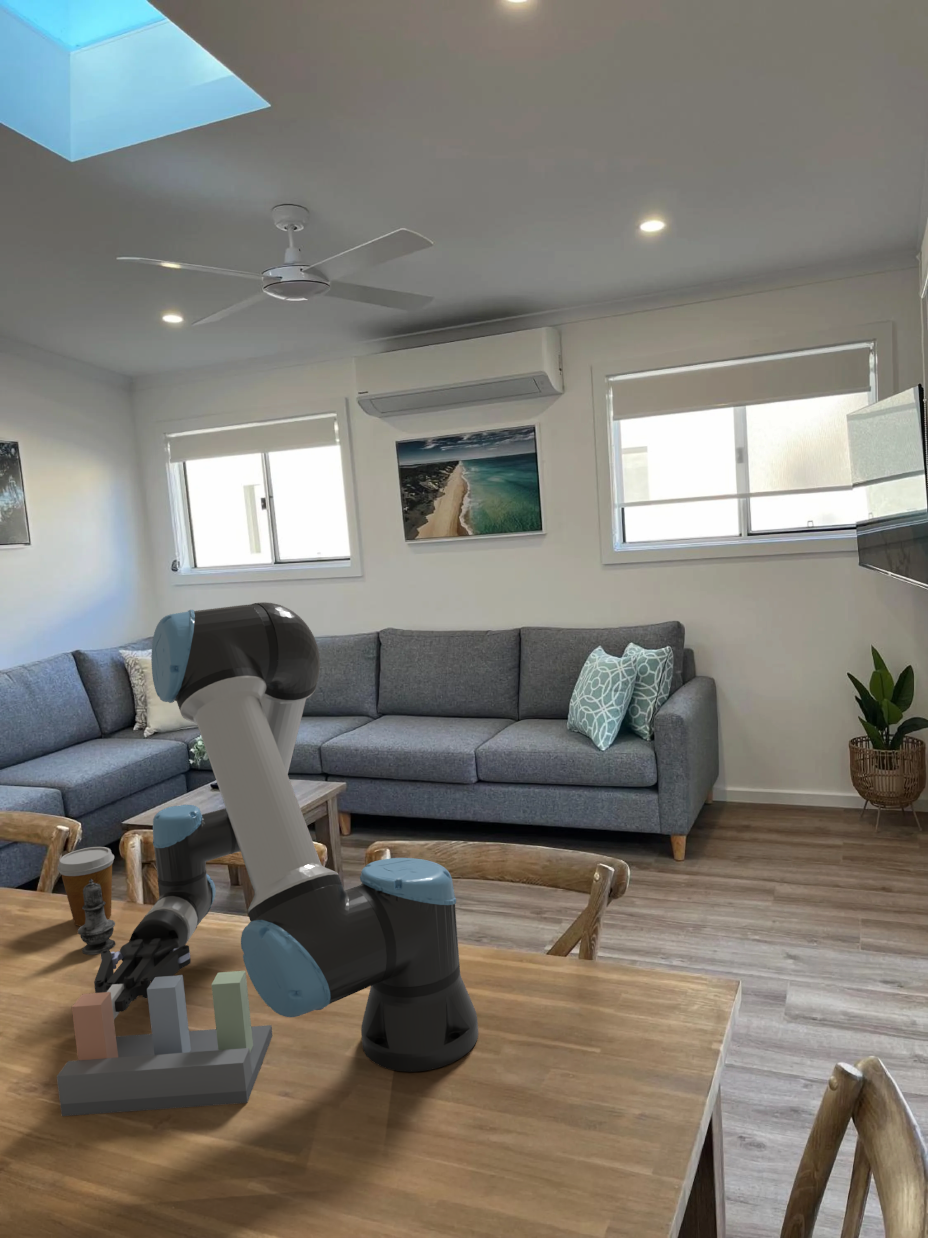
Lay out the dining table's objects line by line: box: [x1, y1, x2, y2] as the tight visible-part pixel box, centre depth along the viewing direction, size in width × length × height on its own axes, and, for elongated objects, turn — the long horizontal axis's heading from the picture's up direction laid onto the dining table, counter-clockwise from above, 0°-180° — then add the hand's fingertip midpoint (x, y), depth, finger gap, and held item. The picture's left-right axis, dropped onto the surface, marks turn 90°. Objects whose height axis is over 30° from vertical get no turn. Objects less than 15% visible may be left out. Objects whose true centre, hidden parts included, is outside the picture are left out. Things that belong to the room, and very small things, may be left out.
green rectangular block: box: [211, 970, 253, 1052], centre depth 111 cm, size 4×3×10 cm
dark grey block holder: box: [56, 1024, 274, 1117], centre depth 111 cm, size 22×14×5 cm, turn 90°
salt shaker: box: [77, 879, 116, 956], centre depth 149 cm, size 6×6×12 cm
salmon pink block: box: [71, 992, 118, 1060], centre depth 108 cm, size 4×3×10 cm
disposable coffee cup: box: [56, 846, 115, 927], centre depth 161 cm, size 10×10×12 cm
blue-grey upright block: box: [147, 974, 191, 1055], centre depth 111 cm, size 4×3×10 cm
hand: (98, 1022), depth 110 cm, fingers closed
